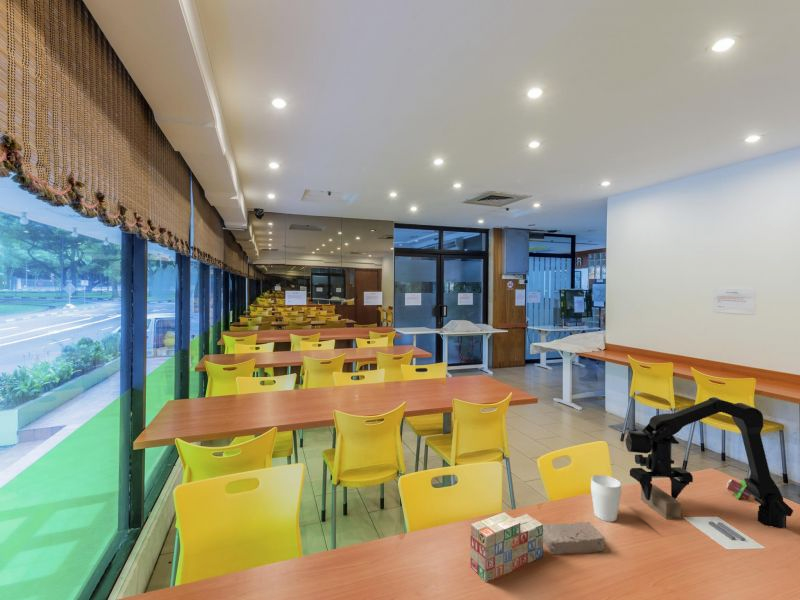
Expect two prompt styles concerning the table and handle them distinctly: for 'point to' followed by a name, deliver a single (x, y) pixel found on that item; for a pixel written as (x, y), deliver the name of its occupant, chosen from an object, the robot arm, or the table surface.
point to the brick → (572, 538)
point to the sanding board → (720, 538)
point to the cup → (605, 497)
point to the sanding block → (663, 503)
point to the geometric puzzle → (738, 489)
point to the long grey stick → (731, 531)
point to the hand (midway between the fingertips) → (660, 499)
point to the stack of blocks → (504, 544)
